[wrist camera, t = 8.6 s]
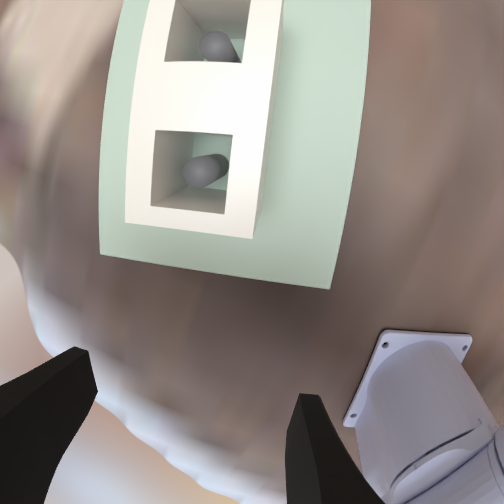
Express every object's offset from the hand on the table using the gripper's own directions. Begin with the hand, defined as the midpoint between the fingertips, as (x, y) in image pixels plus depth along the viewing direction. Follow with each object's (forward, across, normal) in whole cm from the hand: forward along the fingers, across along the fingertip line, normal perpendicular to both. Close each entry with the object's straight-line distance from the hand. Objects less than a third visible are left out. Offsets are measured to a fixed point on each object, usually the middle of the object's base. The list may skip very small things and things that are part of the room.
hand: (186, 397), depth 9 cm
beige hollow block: (+8, +1, -9) cm, 12 cm away
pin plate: (+9, +1, -9) cm, 13 cm away
